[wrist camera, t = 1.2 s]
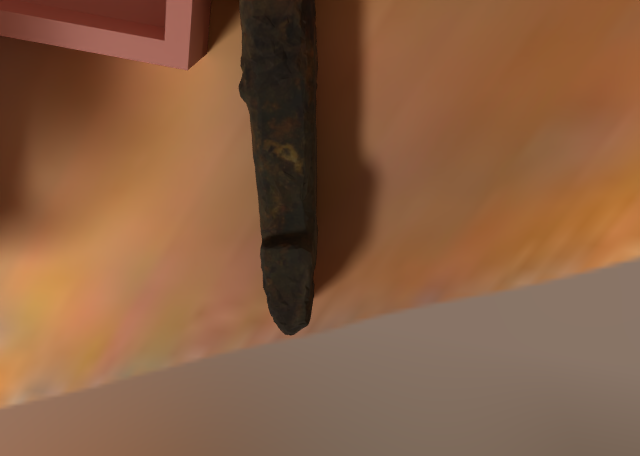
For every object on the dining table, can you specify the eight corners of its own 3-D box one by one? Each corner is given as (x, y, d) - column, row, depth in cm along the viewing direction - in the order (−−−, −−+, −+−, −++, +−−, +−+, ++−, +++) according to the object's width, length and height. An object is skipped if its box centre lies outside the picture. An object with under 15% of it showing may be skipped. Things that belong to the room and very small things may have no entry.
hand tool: (233, -73, 25) (208, -72, 21) (327, -71, 25) (321, -70, 21) (250, 300, 34) (234, 353, 30) (320, 304, 34) (314, 357, 30)
